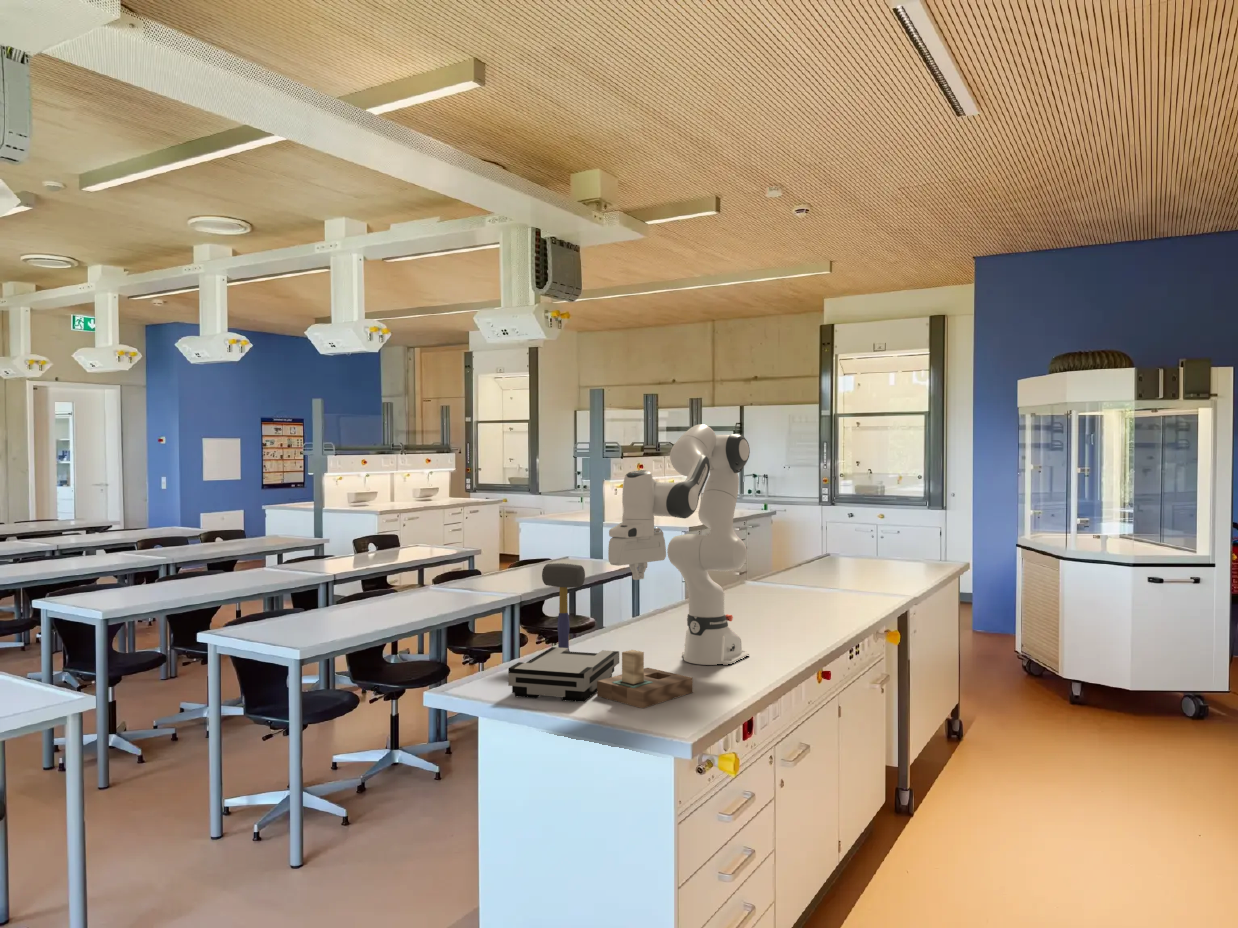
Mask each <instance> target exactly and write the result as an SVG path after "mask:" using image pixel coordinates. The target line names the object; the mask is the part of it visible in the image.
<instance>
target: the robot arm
mask: <svg viewBox="0 0 1238 928" xmlns="http://www.w3.org/2000/svg"><path fill="white" fill-rule="evenodd" d="M750 453H751V452H750V444H749V442H748V440H747V438H746V437H745V436H743V435H742V434H736V433H731V434H716V432H715V431H714V430H713V429H712V428H711V427H710V426H708V425H707V424H701V423H700V424H694V425H693V426H692V427H690V428H689V429H688V430H686V431H685V432H684V433H683V434H682V435H681V436H680V437H679V438H678V439H677V441H676V442H674V444H673V445H672V448H671V449H670V453H669V458H670V463H671V465H672V467H673V469H675V470H676V472H677V473H679V474H680V475H682V476H683V477H686V479H685V480H683V481H677V482H660V481H659V482H658V481H657V480H656V479H654V477H653V473H652V472H651V471H649V470H646V469H645V470H643V469H642V470H641V469H640V470H633V471H629V472H628V473H626V474H625V475H624V479H623V484H622V494H621V496H622V498H621V499H622V500H621V503H622V506H623V513H622V520H621V522H620V523H619V524H617V525H615V526H613V527H612V528H610V529H609V530H608V536H609V537H610V540H609V541H608V547H607V548H608V549H607V553H608V554H607V556H608V563H609V564H610V565H611V566H618V567H620V566H626V565H629V566H628V567H629V569H630V571H631V573H632V574H631V575H632V580H634V581H638V580H639V581H640V580H644V579H645V572H646V569H647V567H648V563H651V562H661V561H665V559H666V557H668V560H669V562H670V563H671V564H672V566H673V567H675V568H676V569H677V570H678V572H679V573H680V575H681V576H682V578H683V580H684V582H685V585H686V588H687V594H688V595H687V596H688V597H687V598H688V614H687V618H686V622H687V626H688V628H687V629H686V631H685V637H684V651H682V654H681V657H683V660H684V662H687V663H690V664H694V665H704V666H706V665H707V666H712V665H713V666H718V665H717V664H723V666H729V665H728V664H732V663H734V662H735V661H738V660H740V659H741V658H743V657H746V656H747V655H749V656H750V653H749V652H748V651H745V650H743V649H742V648H743V647H742V638H741V637H740V635H738V634H737V633H736V632H735V631H733V629H731V627H729V623H728V621H729V622H732V621H733V619H734V616H733V614H725V591H724V589H723V587H722V586H721V585H720V584H718V583H717V582H715V581H714V580H713V579H712V577H711V576H710V574H709V571H713V572H714V571H715V572H716V571H717V572H730V571H731V572H732V571H737V570H741V569H742V567H743V566H745V564H746V562H747V558H748V549H747V547H746V544H745V542H744V541H743V540H742V539H741V538H740V537H739V536H738V535H737V533H736V531H735V529H734V528H735V527H734V517H735V511H736V506H737V501H738V495H739V485H740V484H739V483H740V478H739V475H738V473H740V472H741V471H742V470H743V468H744V467H745V466H746V464H747V462H748V460H749V459H750ZM702 491H703V493H702ZM701 493H702V497H701V500H700V496H701ZM699 500H700V503H699ZM698 504H699V509H698V513H697V514H698V519H699V521H700V523H701V524H702V525H704V526H705V527H706V528H708V529H709V531H710V532H709V534H697V533H696V534H695V533H693V534H692V533H686V534H681V535H675V536H673V537H672V538H671V539H670V541H669V542H668V545H667V546H666V540H665V536H664V532H663V530H662V529H661V528H660V527H655V517H671V518H679V519H688V518H690V517H691V516H692V515H693V514H694V513H695V511H696V510H697V508H698ZM666 547H667V548H666ZM666 549H667V550H666ZM740 661H741V660H740ZM738 662H739V661H738ZM734 664H735V663H734ZM732 665H733V664H732Z"/></svg>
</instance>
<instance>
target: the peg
mask: <svg viewBox="0 0 1238 928" xmlns="http://www.w3.org/2000/svg"><path fill="white" fill-rule="evenodd" d="M644 653H645V652H644V651H641V650H635V649H629V650H626V651H622V652H621V675H622V683H623V684H627V685H631V686H635V685H638V684H642V683H644V668H645V666H644V665H645V662H644V661H645V659H644V658H645V656H644Z"/></svg>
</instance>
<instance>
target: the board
mask: <svg viewBox="0 0 1238 928" xmlns="http://www.w3.org/2000/svg"><path fill="white" fill-rule="evenodd" d="M693 682H694V679H693V677H691V676H687V675H684V674H678V673H673V672H669V671H666V670H665V671H664V670H660V669H656V668H650V667H644V683H642V684H638V685H635V686H631V685H627V684H623V683H622V674H617V675H614V676H612V677H610V678H606V679H603V680H599V681H597V692H596V694H597V695H596V696H597V697H599V698H603V699H607V700H609V701H613V702H617V703H622V704H624V705H629V706H632V707H636V708H639V709H645V708H648V707H651V706H654V705H658V704H660V703H664V702H668V701H670V700H674V699H677V698H680V697H683V695H684V696H687V695H689V694H692V693H694V692H693V691H694V690H693V689H694V688H693V687H694V686H693ZM686 694H687V695H686ZM673 698H674V699H673Z"/></svg>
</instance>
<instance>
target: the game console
mask: <svg viewBox="0 0 1238 928" xmlns="http://www.w3.org/2000/svg"><path fill="white" fill-rule="evenodd" d="M569 651H570V647H569V648H558V646H556V647H555V646H554V647H553V646H552V647H549V648H548V649H547V650H545V651H543V652H541V653H540V654H538V655H536V656H535V657H533V658H531V659H529V660H528V661H526V662H521V661H520V662H519V661H518V662H517V663H515V664H513V665H511V666H509V667H508V670H507V671H508V675H507V676H508V681H507V682H508V683H507V684H508V687H510V686H511V691H512V692H511V693H514V696H515V697H516V696H518V698H528V699H529V698H530V699H537V698H539V697H540V696H547V697H561V700H562V701H563V700H564V702H565V700H566V702H575V701H576V702H577V703H585V702H586V701H587V700H588V699H590V698H592V696H593V695H595V694H596V693H597V681H599V680H603V679H606V678H610V677H613V673H614V672H615V667H616V666H617V665H619V664H620V651H618V650H604V649H602V650H601V651H599V652H598V653H597V652H596V653H595V652H582V651H581V652H580V651H570V652H569Z"/></svg>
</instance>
